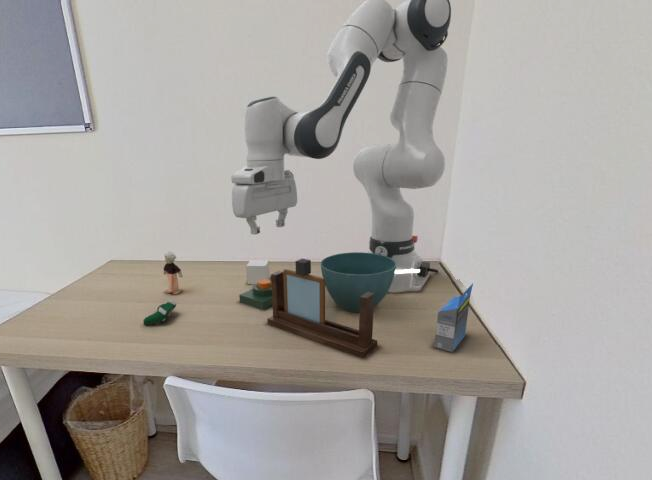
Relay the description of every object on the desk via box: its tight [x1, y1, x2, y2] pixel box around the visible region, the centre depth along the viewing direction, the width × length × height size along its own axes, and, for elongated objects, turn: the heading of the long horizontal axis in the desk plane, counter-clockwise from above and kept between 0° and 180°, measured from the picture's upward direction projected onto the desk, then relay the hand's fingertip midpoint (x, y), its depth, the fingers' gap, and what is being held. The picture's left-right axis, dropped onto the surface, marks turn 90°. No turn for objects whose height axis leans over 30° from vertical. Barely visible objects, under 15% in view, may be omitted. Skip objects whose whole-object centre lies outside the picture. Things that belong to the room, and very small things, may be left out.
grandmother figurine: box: [162, 251, 183, 295], centre depth 116 cm, size 8×4×13 cm, turn 68°
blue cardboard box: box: [433, 283, 474, 353], centre depth 81 cm, size 9×4×12 cm, turn 140°
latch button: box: [258, 279, 271, 289], centre depth 108 cm, size 4×4×2 cm
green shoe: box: [143, 298, 177, 326], centre depth 100 cm, size 9×4×6 cm
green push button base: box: [238, 283, 273, 311], centre depth 109 cm, size 11×9×4 cm
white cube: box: [245, 259, 271, 285], centre depth 123 cm, size 6×6×6 cm
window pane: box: [282, 258, 326, 324], centre depth 88 cm, size 2×11×15 cm, turn 48°
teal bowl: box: [320, 251, 396, 315], centre depth 100 cm, size 18×18×12 cm
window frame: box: [266, 270, 379, 359], centre depth 87 cm, size 6×26×12 cm, turn 48°
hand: (268, 230), depth 98 cm, fingers open, 8 cm apart
